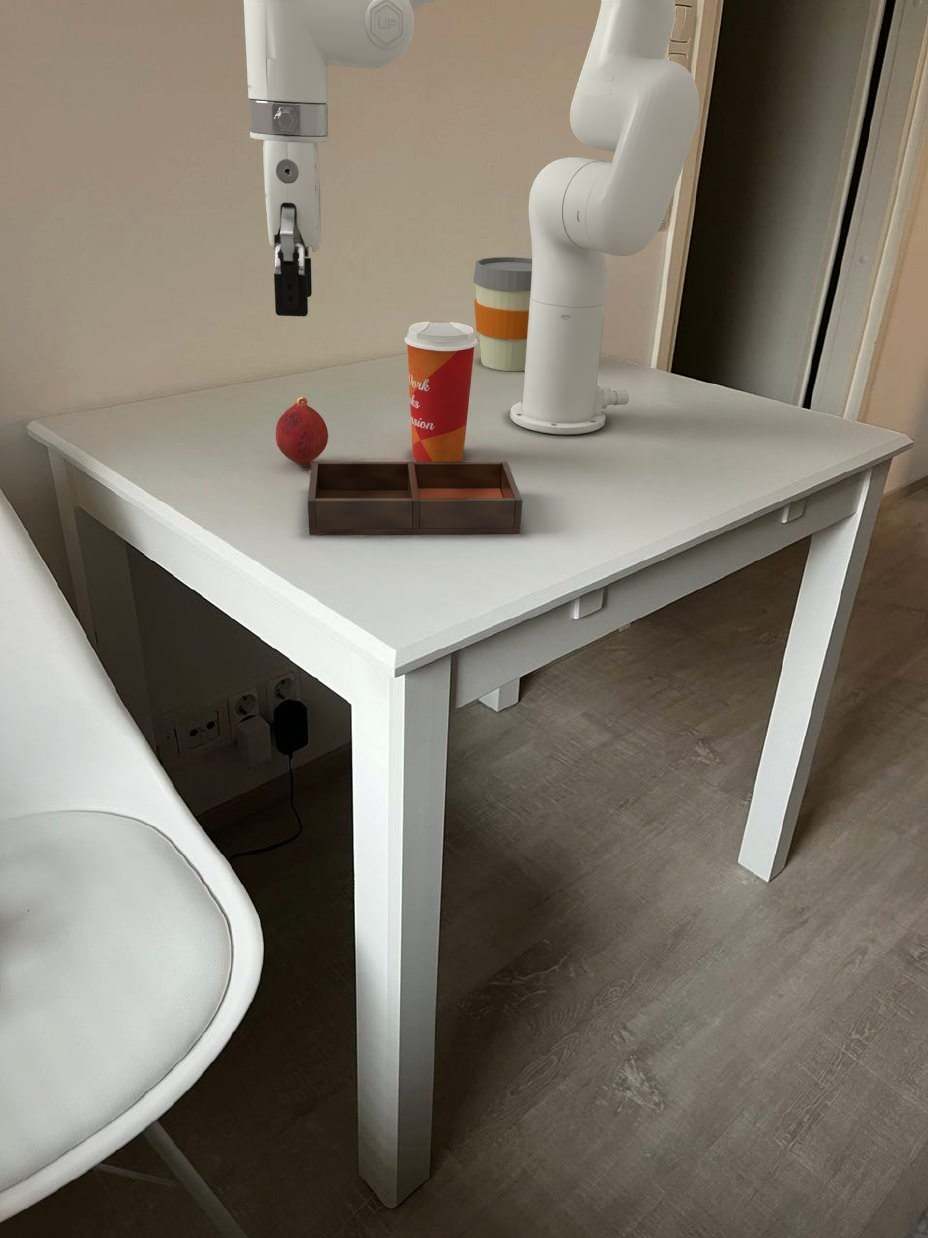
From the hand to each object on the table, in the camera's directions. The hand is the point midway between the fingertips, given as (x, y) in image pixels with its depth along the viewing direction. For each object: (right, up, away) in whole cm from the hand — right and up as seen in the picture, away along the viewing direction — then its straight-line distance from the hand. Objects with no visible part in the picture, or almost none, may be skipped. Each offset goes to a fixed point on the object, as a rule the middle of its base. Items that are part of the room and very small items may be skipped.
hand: (294, 305), depth 102 cm
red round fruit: (-1, -16, +9) cm, 18 cm away
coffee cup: (+15, -14, +13) cm, 24 cm away
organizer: (+13, -22, -2) cm, 25 cm away
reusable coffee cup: (+25, +7, +51) cm, 57 cm away
